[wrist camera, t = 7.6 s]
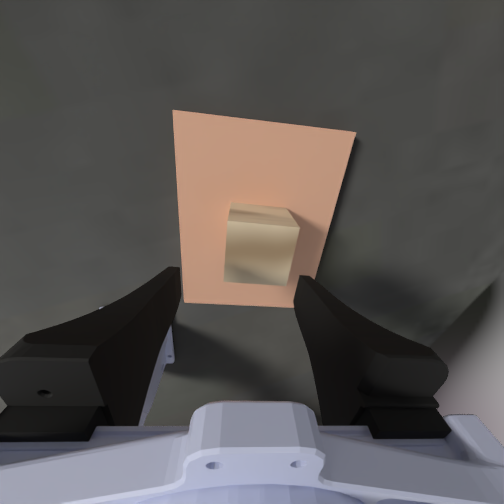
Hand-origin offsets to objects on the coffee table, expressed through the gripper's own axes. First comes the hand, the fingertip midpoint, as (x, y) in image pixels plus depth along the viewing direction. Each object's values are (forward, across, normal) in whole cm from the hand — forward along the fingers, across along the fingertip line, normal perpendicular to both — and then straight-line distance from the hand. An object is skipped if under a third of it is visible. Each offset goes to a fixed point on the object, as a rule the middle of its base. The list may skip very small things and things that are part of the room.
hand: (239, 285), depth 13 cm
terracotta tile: (+9, -1, 0) cm, 9 cm away
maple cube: (+8, -1, 0) cm, 8 cm away
